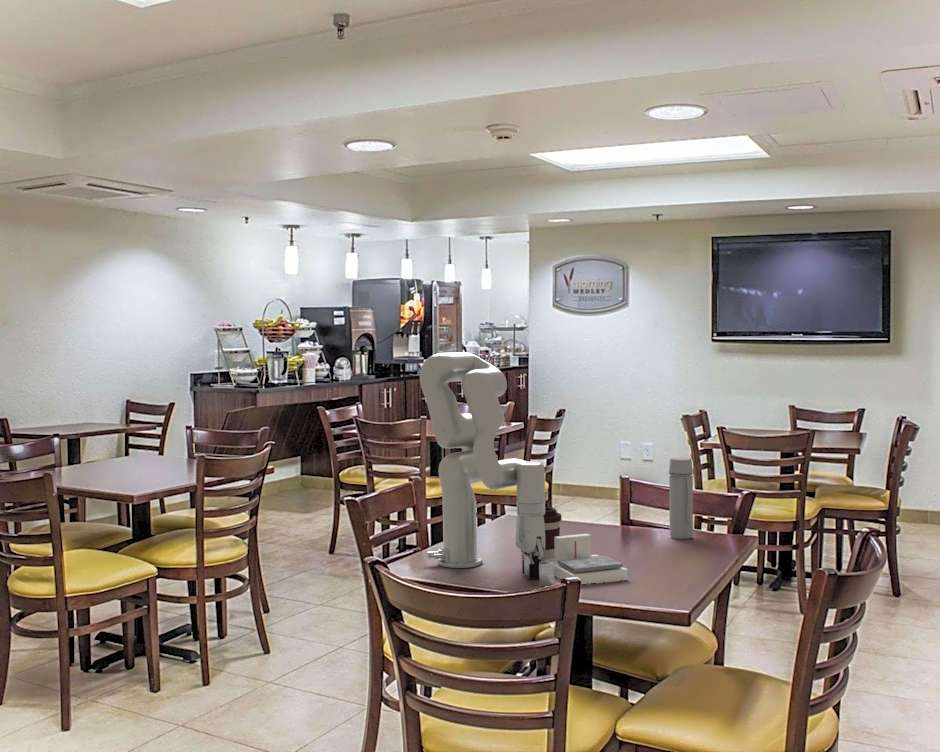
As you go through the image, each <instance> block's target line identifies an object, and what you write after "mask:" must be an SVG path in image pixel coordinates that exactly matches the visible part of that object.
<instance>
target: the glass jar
mask: <svg viewBox="0 0 940 752" xmlns="http://www.w3.org/2000/svg"><path fill="white" fill-rule="evenodd" d="M535 555H537V554H533V556H534V557H535ZM523 560H524V574H523V577H524V578H525V579H528V580H531V579H530V578H529V564H531V562H530V553H525V554H524V559H523Z"/></svg>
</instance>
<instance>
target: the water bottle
mask: <svg viewBox="0 0 940 752" xmlns="http://www.w3.org/2000/svg"><path fill="white" fill-rule="evenodd" d="M692 461H693V460H692V458H689V457H684V456H683V457H682V456H681V457H679V456H678V457H671V458H670V459H669V466H668V467H669V468H668V475H669V478H668V479H669V481H668V483H669V486H668V487H669V536H670V537H671V538H672V539H675V540H690V539H691V538H692V537H693V536H694V512H693V511H694V499H693V498H694V496H693V495H694V488H693V487H694V485H693V483H694V481H693V480H694V477H695V473H694V472H693V470H694V469H693V462H692ZM689 538H690V539H689Z"/></svg>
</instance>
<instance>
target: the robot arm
mask: <svg viewBox="0 0 940 752" xmlns="http://www.w3.org/2000/svg"><path fill="white" fill-rule="evenodd" d="M421 365H422V366H421V367H420V372H419V383H420V387H421V390H422V393H423V396H424V398H425V401H426V404H427V405H426V406H427V409H428V413H429V416H430V421H431V422H430V423H431V425H432V426H431V427H432V429H433V433H434V437H435V440H436V443H437V444H438V446H440V447H441V448H443V449H449V450H450V449H457V448H461V450H460V451H457V452H452V453H449V454H447V455H445V456H444V457H443V458H442V459H441V461H440V462H439V464H438V479H439V482H440V487H441V488H440V489H441V497H442V538H443V539H442V540H443V542H442V544H443V545H442V546H440V547H439V548H440V549H437V551H436V550H432V551H426V558H427V559H429V560H430V559H433V560H437V563H438V565H439V566H441V567H443V568H450V569H467V568H474V567H478V566H480V565H482V564H483V558H482V557H481V556H480V555H478V552H477V551H478V550H477V549H478V548H477V545H478V543H477V534H478V533H477V500H476V495H475V492H474V491H473V488H472V484H476V483H481V482H482V483H483V485H485V487H486V488H488V489H490V490H494V491H495V490H501V489H506V488H510V487H515V486H516V514H517V515H516V525H515V546H516V548H518V549H519V550H520V552H521V561H522V562H521V564H522V566H521V567H522V568H521V569H522V571H521V573H522V575H524V554H525V553H530V562H531V564H529V578H530V579H529V580H537V579H538V580H539V563H540V562H542V558H543V557H544V551H545V525H544V516H543V515H544V514H545V507H546V485H545V484H546V482H545V481H546V479H545V478H546V474H545V473H546V471H545V464H544V463H542V462H540V461H534V460H533V461H530V460H529V461H527V460H523V459H520V458H516V457H515V458H514V457H512V458H504V459H499V460H498V457H497V454H496V450H495V438H496V434H497V432H498V431H499V429H500V428H501V427H502V426H503V425H504V423H505V422H506V417H505V415H504V411H503V409H502V406H501V404H500V401H499V397H502V396H503V395H504V394H505V393H506V391H507V388H508V382H507V379H506V378H507V377H506V376H505V375H504V373H503V372H502V371H501V370H500V369H499V368H497V367H496V366H494V365H492V363H489V362H488V361H486V360H485V359H483V358H481V357H479V356H477V355H476V354H474V353H471V352H466V351H456V352H438V353H435V354H432V355H430V356H429V357H427V358H426V359H425V360H424V361H423V364H421ZM457 382H461V384H460V385H461V390H462V393H463V395H464V398H465V401H466V404H467V406H468V407H467V408H468V410H469V412H470V413H469V412H468V413H467V412H465V413H461V411H460V409H459V408H460V407H459V404H458V401H457V398H456V395H455V393H454V392H453V390H452V389H451V388H450V386H449V385H448V384H449V383H457ZM534 550H537V552H533V551H534ZM533 554H537V555H535V557H534V556H533Z"/></svg>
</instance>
